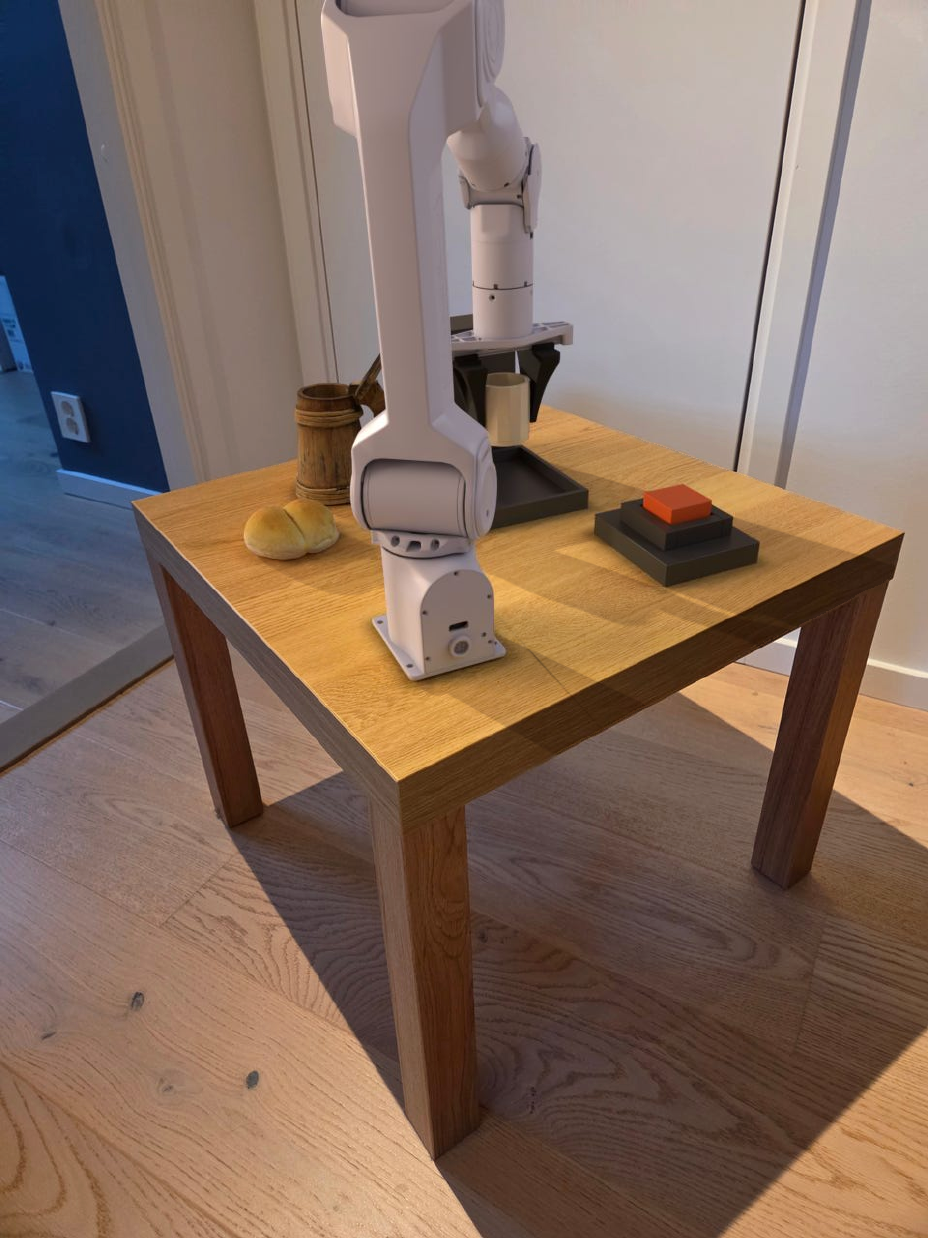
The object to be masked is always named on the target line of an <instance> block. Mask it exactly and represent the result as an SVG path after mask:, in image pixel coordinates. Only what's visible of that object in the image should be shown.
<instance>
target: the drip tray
mask: <svg viewBox="0 0 928 1238" xmlns="http://www.w3.org/2000/svg"><path fill="white" fill-rule="evenodd" d="M491 451H492V459H493V463H494V465H495V469H496V477H497V495H496V506H495V512H494V518H493V522H492V525H491V528H490V530H489V531H495V530H497V529H501V528H502V529H503V528H507V527H511V526H515V525H516V526H517V525H519V524H524V523H530V522H533V521H538V520H544V519H546V518H551V517H555V516H560V515H565V514H568V513H574V512H578V511H582V510H587V509H589V492H590V491H589V489H588V488H587V487H585V486H583V485H582V484H580V483H579V482H577V481H576V480H575V479H573V478H571V477H570V476H569V475H568V474H566V473H564V472H563V471H562V470H560V469H559V468H558V467H556V466H555V465H553V464H551V463H550V462H548V461H547V460H545V459H544V458H542V457H541V456H540V455H538V454H537V453H535V452H533V451H532V450H531V449H529V448H528V447H526V446H525V445H524V444H523V443H522V444H519V445H516V446H511V447H506V448H501V449H495V450H491Z"/></svg>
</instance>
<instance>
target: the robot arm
mask: <svg viewBox="0 0 928 1238" xmlns="http://www.w3.org/2000/svg"><path fill="white" fill-rule="evenodd" d="M320 14H321V16H320V24H321V25H320V27H321V35H322V36H321V37H322V44H323V53H324V54H323V55H324V62H325V71H326V80H327V88H328V96H329V102H330V104H331V108H332V109H331V110H332V117H333V123H334V126H336V127H337V128H338V129H341V131H344V132H345V133H347V134H348V135H350V136H352V137H354V138H355V139H356V141H357V149H358V150H357V151H358V157H359V162H360V164H359V165H360V169H361V178H362V186H363V195H364V207H365V217H366V227H367V234H368V235H367V236H368V237H367V238H368V244H369V245H368V246H369V256H370V266H371V274H372V285H373V295H374V305H375V314H376V315H375V316H376V324H377V325H376V327H377V336H378V345H379V353H380V356H381V365H382V369H381V374H382V383H383V384H382V385H383V390H384V395H385V405H386V409H385V410H384V411H383V412H382V413H380V414H379V415H378V416H376V417H375V418H374V417H373V419H371V420H370V421H368V422H367V423H366V424H365V425H363V427H361V428H362V429H361V430H360V432H359V433H358V435H357V437H356V439H355V441H354V443H353V446H352V449H351V457H352V476H351V483H350V501H351V502H350V507H351V512H352V514H353V517H354V519H355V520H356V522H357V523H358V526H359V527H360V528H361V529H362V530H364V531H365V532H366V531H367V532H370V538H371V544H372V545H374V546H380V553H381V554H380V556H381V565H382V574H383V586H384V598H385V608H386V613H385V614H382V615H377V616H375V617H373V618H372V625H373V627H374V628H375V630H376V632H377V633H378V635H379V636H380V637H381V639H382V640H383V642H384V643H385V645H386V647H387V648H388V649H389V651H390V653H391V654H392V655H393V657H394V659H395V660H396V661H397V663H398V664H399V666H400V668H401V669H402V670H403V672H404V674H405V675H406V677H407V678H408V679H409V680H410V681H413V682H415V681H419V680H423V679H427V678H430V677H434V676H438V675H441V674H445V673H449V672H452V671H455V670H460V669H463V668H467V667H470V666H473V665H477V664H481V663H485V662H488V661H491V660H495V659H498V658H502V657H504V656H505V655H506V654H507V653H506V647H504V646H503V644H502V643H501V642H500V641H499V640H498V638H496V636H495V593H494V588H493V585H492V583H491V581H490V579H489V577H488V576H487V575H486V573H485V572H484V571H483V569H482V567H481V565H480V563H479V561H478V557H477V552H476V541H481V540H482V539H483V538H484V536H485V535H486V534H488V533H489V531H491V530H490V528H491V525H492V522H493V518H494V512H495V506H496V495H497V477H496V469H495V465H494V463H493V459H492V451H491V441H490V439H489V438H488V431H487V430H486V429H485V389H486V382H487V376H488V371H489V370H488V369H487V368H486V367H484V366H482V365H481V360H478V357H479V356H486V355H492V354H499V353H506V352H512V351H516V356H517V362H518V369H519V374H522V375H526V376H528V378H529V379H530V424H533V423H534V424H535V423H537V420H538V417H539V411H540V409H541V404H542V401H543V397H544V395H545V392H546V389H547V386H548V384H549V383H550V381H551V378H552V376H553V374H554V372H555V371H556V369H557V367H558V366H559V364H560V362H561V351H559V350H557V348H555V346H557V345H560V346H561V345H562V346H570V345H571V346H572V345H573V344H574V324H573V323H570V322H568V321H565V320H559V321H550V322H549V321H548V322H534V238H535V237H534V230H536V229H537V226H538V220H539V219H538V215H539V214H538V211H539V201H540V200H539V199H540V195H541V188H542V174H543V173H542V171H543V170H542V169H543V167H542V165H543V164H542V156H541V149H540V146H539V145H540V144H539V143H534V144H533V143H532V141H531V139H530V137H529V136H524V135H523V130H522V128H521V125H520V123H519V119H518V116H517V113H516V112H515V108H514V105H513V103H512V101H511V99H510V97H509V96H508V94H507V93H505V92H504V91H503V90H502V89H501V88H499V87H497V86H496V84H495V82H496V80H497V79H498V76H499V74H500V73H501V70H502V67H503V62H504V55H505V43H506V13H505V0H324V1H323V5H322V8H321V13H320ZM446 145H447V146H448V148H449V151H450V152H451V154H452V156H453V158H454V160H455V161H456V163H457V165H458V169H457V178H458V182H459V186H460V191H461V199H462V203H463V207H464V208H465V209H466V210H468V211H470V210H471V211H470V213H469V216H470V217H469V218H470V219H469V221H470V251H471V253H470V257H471V284H472V285H471V287H472V288H471V290H472V292H471V294H472V314H473V330H470V331H466V332H462V333H459V334H455V335H451V330H450V317H451V315H450V314H451V313H450V294H449V277H448V259H447V240H446V222H445V220H446V219H445V202H444V201H445V199H444V184H443V166H442V165H443V164H442V163H443V162H442V154H443V151H444V148H445V146H446ZM453 377H454V379H455V381H456V383H457V385H458V388H459V390H460V392H461V395H462V397H463V400H464V403H465V406H466V410H467V413H468V414H467V413H465V412H464V411H463V410H462V409H461V408H460V407H458V406H457V405H456V403H455V402H454V386H453Z"/></svg>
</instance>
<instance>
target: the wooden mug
mask: <svg viewBox="0 0 928 1238" xmlns="http://www.w3.org/2000/svg"><path fill="white" fill-rule="evenodd" d="M380 372H382V365H381V356H380V352H379V353H378V355H377V356H376V358H375V360H374V361H373V363H372V364H371V366H370V367H369V369H368V371H366V373H365V374H364V376H363V377H362V379H361V381H360V380H359V381H353V382H350V383H349V384H345V383H341V382H321V383H319V382H318V383H313V384H310V385H306V386H303V387H300V388H299V389H298V390H297V391H296V399H297V403H296V404H295V406H294V421H295V422H296V423H297V425H296V426H297V475H296V477H295V495H296V497H297V499H311V500H315V501H318V502H320V503H322V504H323V505H324V506H332V505H343V504H348V503H349V504H350V503H351V501H350V483H351V476H352V457H351V449H352V446H353V443H354V441H355V439H356V437H357V435H358V433H359V432H360V430H361V429H362V428H363V427H362V425H361V418H362V417H363V416H364V413H365V412H364V409H363V407H362V406H366V407H368V408H369V409H370V411H371V412H372V414H373V419H374V418H375V417H376V416H378V415H379V414H380V413H382V412H383V411H384V410H385V409H386V405H385V395H384V388H383V387H382V385H381V384H380V383H379V379H377V378H378V377H379V374H380Z"/></svg>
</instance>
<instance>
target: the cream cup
mask: <svg viewBox="0 0 928 1238" xmlns="http://www.w3.org/2000/svg"><path fill="white" fill-rule="evenodd" d="M485 429H486V430H487V431H488V438H489V439H490V441H491V446H498V447H507V446H515V445H521V444H522V445H523V444H524V443H526V442H527V441H529V439H530V433H531V432H530V431H531V423H530V379H529V378H528V376H526V375H522V374H520V372H518V373H517V372H516V373H511V372H501V373H492V374H488V376H487V382H486V389H485Z"/></svg>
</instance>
